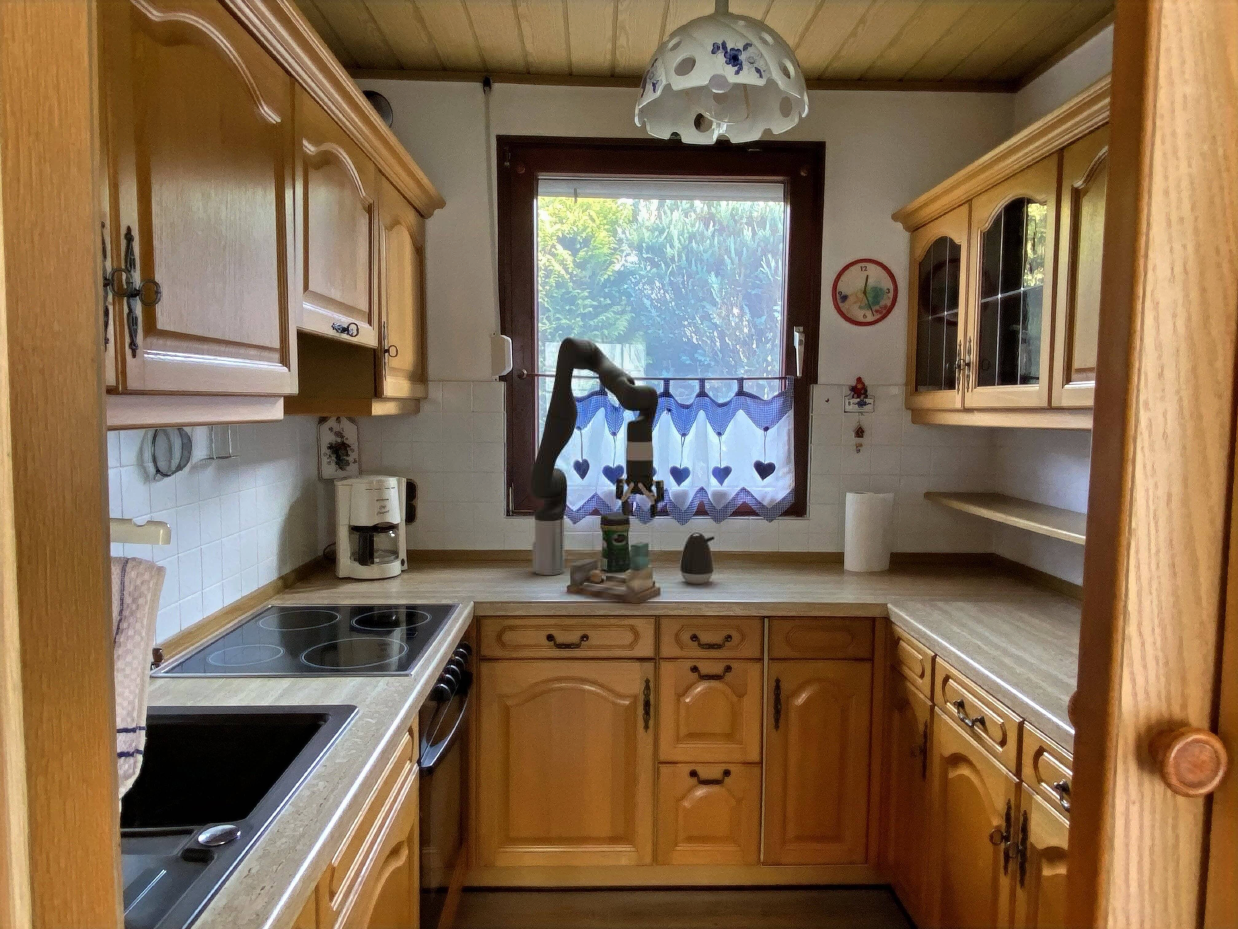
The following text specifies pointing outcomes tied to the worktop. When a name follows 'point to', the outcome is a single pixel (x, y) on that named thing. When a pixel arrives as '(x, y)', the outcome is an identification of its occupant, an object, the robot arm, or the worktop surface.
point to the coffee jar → (615, 542)
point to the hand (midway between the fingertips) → (639, 516)
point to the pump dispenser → (697, 559)
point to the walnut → (595, 576)
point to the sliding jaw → (639, 568)
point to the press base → (605, 584)
